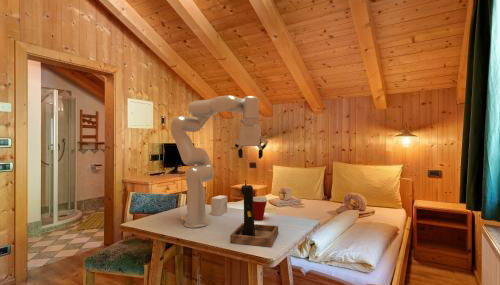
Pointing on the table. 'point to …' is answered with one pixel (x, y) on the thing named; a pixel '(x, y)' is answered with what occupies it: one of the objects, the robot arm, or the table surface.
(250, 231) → the portable radio
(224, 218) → the table surface
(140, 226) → the table surface
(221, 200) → the skincare box
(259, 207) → the plastic cup
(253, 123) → the robot arm
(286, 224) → the table surface
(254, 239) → the wooden tray
